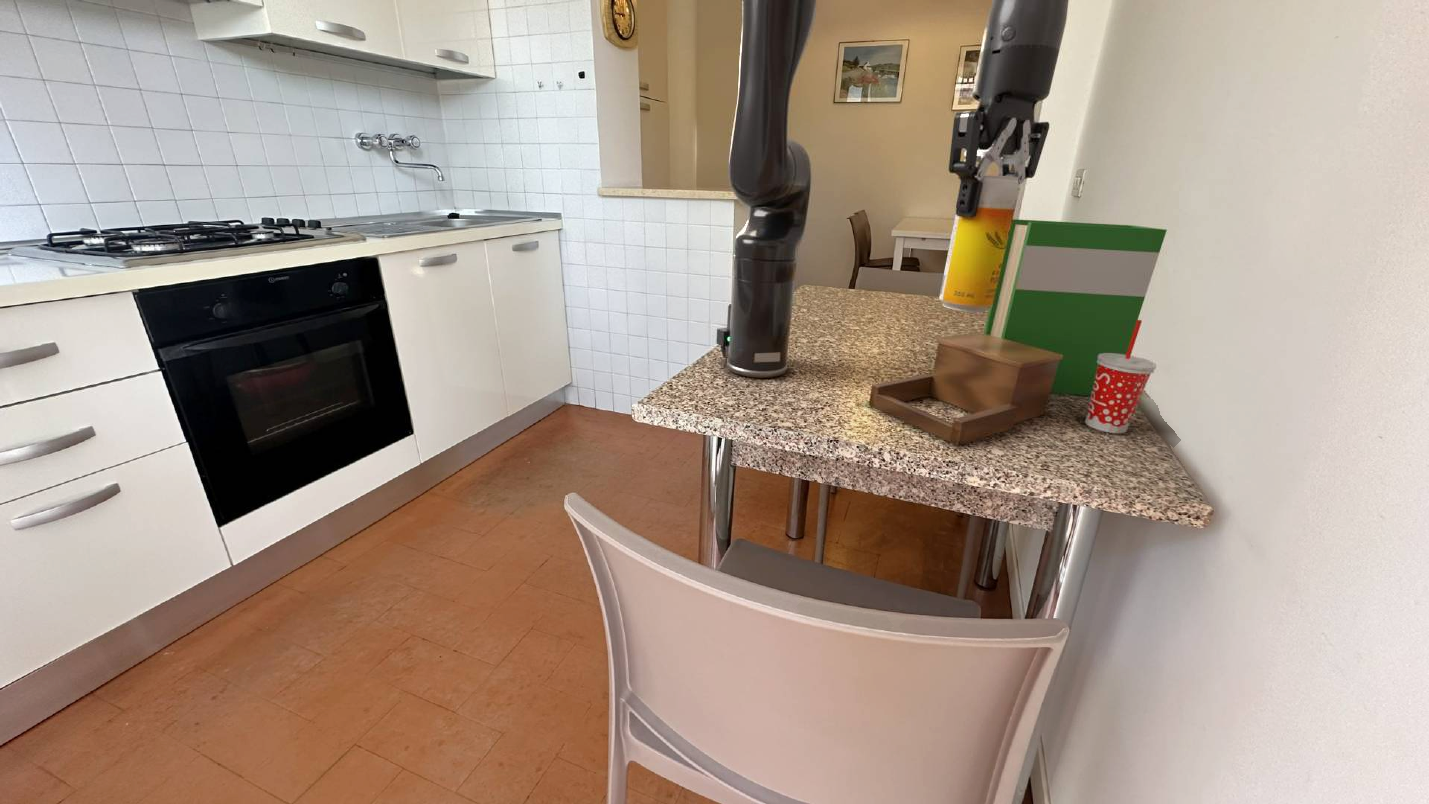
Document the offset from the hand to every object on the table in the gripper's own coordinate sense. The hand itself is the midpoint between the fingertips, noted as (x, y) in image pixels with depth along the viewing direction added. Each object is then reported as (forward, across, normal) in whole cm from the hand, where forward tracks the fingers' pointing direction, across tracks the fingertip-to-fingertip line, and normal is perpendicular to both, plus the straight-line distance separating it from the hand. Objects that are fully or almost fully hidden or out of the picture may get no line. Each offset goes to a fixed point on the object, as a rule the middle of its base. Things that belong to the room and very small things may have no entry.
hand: (983, 216), depth 66 cm
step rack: (+25, -5, 0) cm, 25 cm away
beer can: (+11, 0, 0) cm, 11 cm away
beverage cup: (+25, -17, +12) cm, 33 cm away
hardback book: (+25, -26, -2) cm, 36 cm away
